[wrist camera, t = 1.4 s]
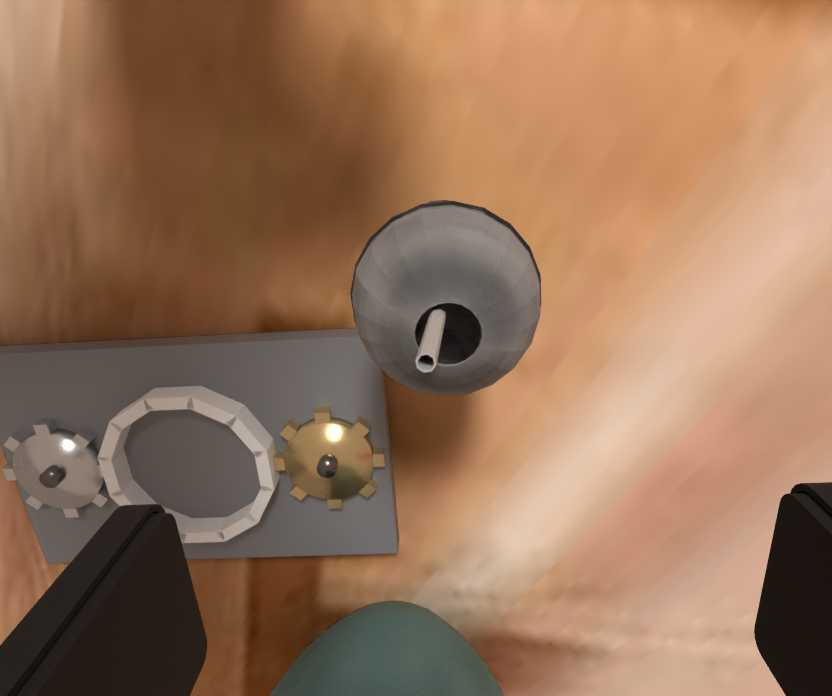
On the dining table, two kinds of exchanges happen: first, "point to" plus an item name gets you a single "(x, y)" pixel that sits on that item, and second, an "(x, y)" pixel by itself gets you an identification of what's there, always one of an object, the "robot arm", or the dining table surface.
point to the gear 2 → (329, 458)
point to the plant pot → (389, 658)
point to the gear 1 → (57, 468)
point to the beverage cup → (446, 298)
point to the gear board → (206, 436)
